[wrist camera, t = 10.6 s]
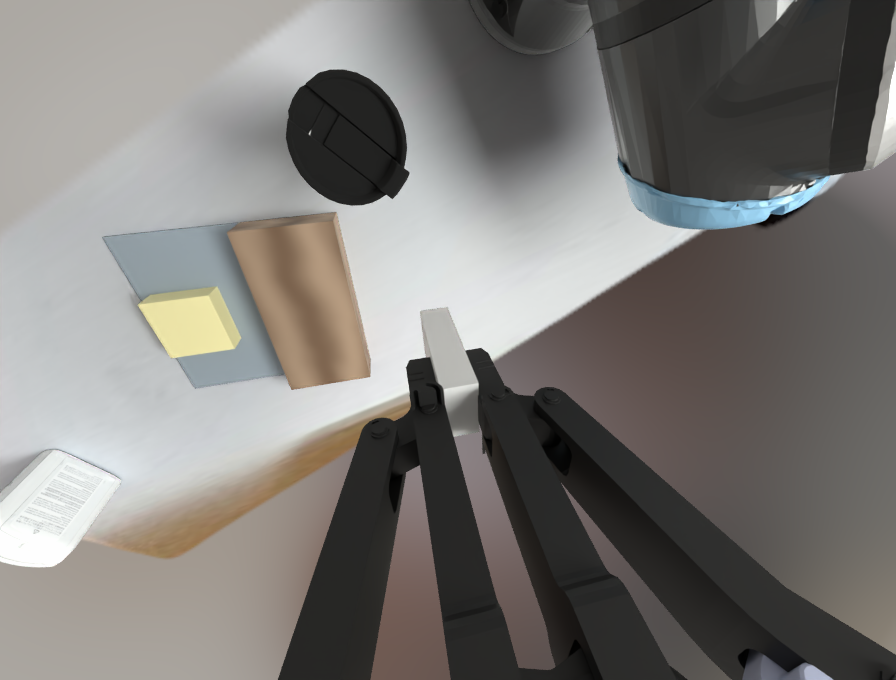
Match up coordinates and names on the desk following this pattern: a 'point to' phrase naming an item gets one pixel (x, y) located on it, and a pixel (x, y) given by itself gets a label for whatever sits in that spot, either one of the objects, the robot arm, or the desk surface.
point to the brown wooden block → (304, 296)
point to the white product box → (51, 508)
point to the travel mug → (347, 138)
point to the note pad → (191, 321)
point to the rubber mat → (193, 267)
